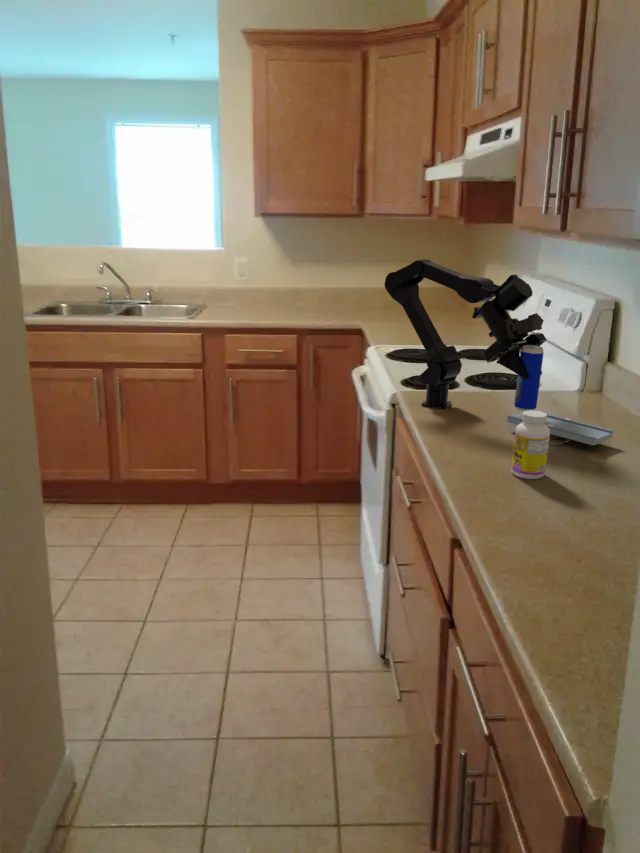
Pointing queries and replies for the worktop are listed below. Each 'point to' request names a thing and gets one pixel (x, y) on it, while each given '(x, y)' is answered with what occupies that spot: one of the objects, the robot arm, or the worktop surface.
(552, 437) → the fulcrum
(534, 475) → the supplement bottle
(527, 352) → the beverage can
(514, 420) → the beam
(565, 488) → the worktop surface
